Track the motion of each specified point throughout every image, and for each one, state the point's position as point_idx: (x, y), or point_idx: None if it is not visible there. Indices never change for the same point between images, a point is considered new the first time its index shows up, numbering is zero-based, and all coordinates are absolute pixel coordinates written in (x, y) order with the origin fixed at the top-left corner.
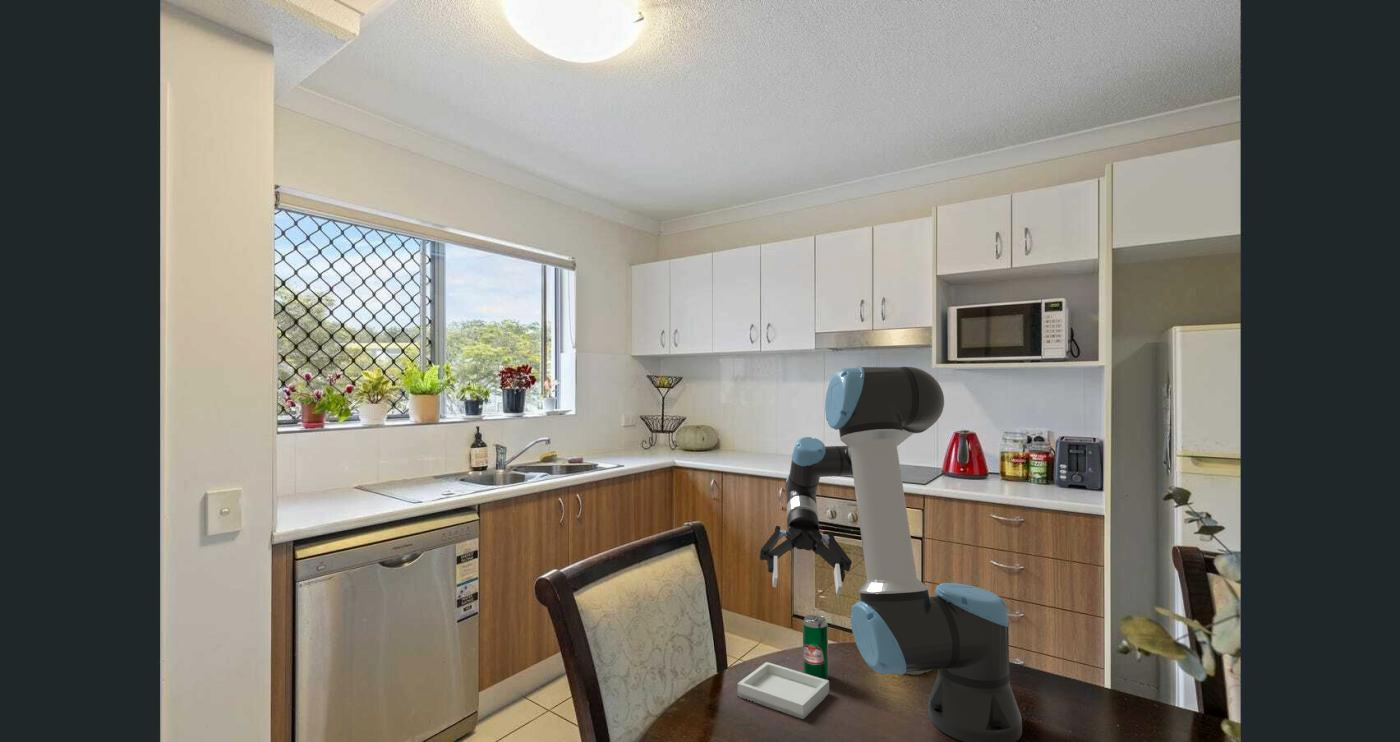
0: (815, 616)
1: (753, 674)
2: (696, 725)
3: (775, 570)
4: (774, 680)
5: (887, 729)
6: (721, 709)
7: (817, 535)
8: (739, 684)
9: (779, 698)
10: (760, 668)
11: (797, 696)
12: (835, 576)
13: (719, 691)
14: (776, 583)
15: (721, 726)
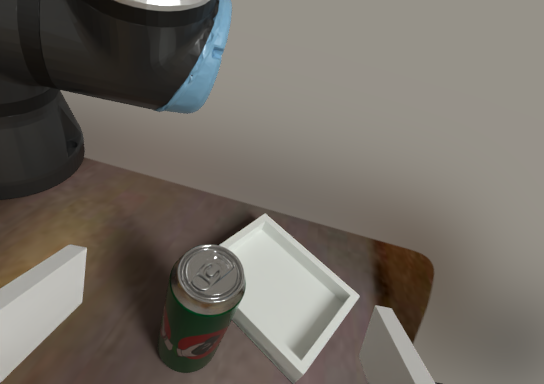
0: (203, 286)
1: (333, 321)
2: (394, 253)
3: (402, 339)
4: (285, 329)
5: (154, 178)
6: (369, 278)
7: None
8: (356, 293)
9: (294, 240)
10: (318, 343)
11: (256, 266)
12: (11, 342)
13: None
14: (366, 335)
15: (364, 243)
